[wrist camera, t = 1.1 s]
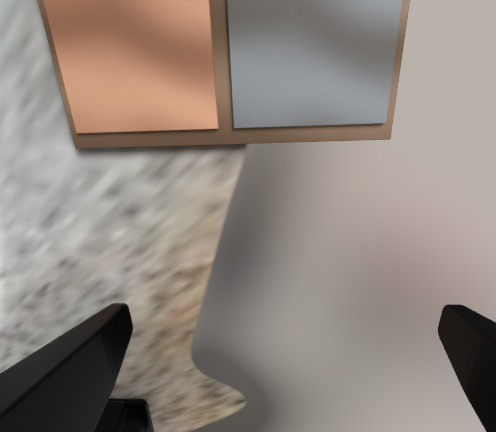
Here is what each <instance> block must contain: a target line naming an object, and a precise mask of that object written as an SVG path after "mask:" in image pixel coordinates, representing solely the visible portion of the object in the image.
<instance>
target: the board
mask: <svg viewBox="0 0 496 432" xmlns="http://www.w3.org/2000/svg"><path fill="white" fill-rule="evenodd" d="M38 3H39V7H40V11H41V15H42V19H43V23H44V27H45V31H46V34H47V38H48V42H49V46H50V50H51V54H52V58H53V62H54V66H55V70H56V74H57V77H58V81H59V85H60V89H61V93H62V97H63V101H64V105H65V109H66V113H67V116H68V120H69V124H70V128H71V132H72V136H73V140H74V144H75V148H76V149H81V148H114V147H148V146H182V145H216V144H250V143H282V142H283V143H284V142H317V141H349V140H350V141H351V140H383V139H384V140H385V139H390V137H391V130H392V122H393V116H394V109H395V101H396V95H397V88H398V81H399V74H400V67H401V60H402V53H403V45H404V39H405V31H406V25H407V18H408V10H409V3H410V0H38Z"/></svg>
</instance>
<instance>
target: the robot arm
mask: <svg viewBox="0 0 496 432" xmlns="http://www.w3.org/2000/svg"><path fill="white" fill-rule="evenodd" d="M132 331H133V324H132V320H131V315H130V311H129V307H128V305H127V304H125V303H113V304H111V305H109V306H107V307H106V308H104V309H103V310H101V311H99V312H98V313H96V314H95V315H93V316H91V317H90V318H88V319H87V320H85V321H84V322H82V323H80V324H79V325H77V326H76V327H74V328H72V329H71V330H69V331H68V332H66V333H64V334H63V335H61V336H60V337H58V338H56V339H55V340H53V341H52V342H50V343H48V344H47V345H45V346H44V347H42V348H40V349H39V350H37V351H36V352H34V353H32V354H31V355H29V356H28V357H26V358H24V359H23V360H21V361H20V362H18V363H16V364H15V365H13V366H12V367H10V368H8V369H7V370H5V371H4V372H2V373H0V432H154V429H153V425H152V421H151V417H150V413H149V409H148V405H147V402H146V401H144V400H128V399H109V396H110V394H111V392H112V390H113V387H114V385H115V382H116V380H117V377H118V374H119V371H120V368H121V365H122V362H123V359H124V356H125V353H126V350H127V347H128V344H129V341H130V338H131V335H132ZM438 334H439V337H440V340H441V342H442V344H443V346H444V349H445V351H446V353H447V355H448V358H449V360H450V362H451V364H452V366H453V369H454V371H455V373H456V375H457V377H458V380H459V382H460V384H461V386H462V388H463V390H464V392H465V394H466V396H467V398H468V400H469V402H470V403H471V405H472V407H473V409H474V410H475V412H476V414H477V416H478V417H479V419H480V421H481V423H482V425H483V426H484V428H485V430H486V432H496V322H493V321H492V320H490V319H488V318H486V317H484V316H482V315H480V314H478V313H476V312H475V311H473V310H471V309H469V308H467V307H465V306H463V305H445V306H444V308H443V310H442V314H441V318H440V322H439V326H438Z"/></svg>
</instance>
